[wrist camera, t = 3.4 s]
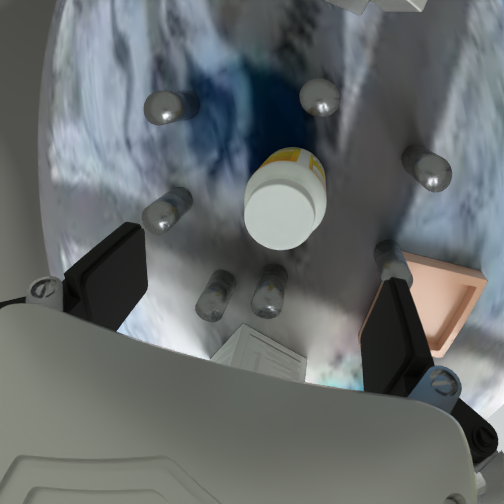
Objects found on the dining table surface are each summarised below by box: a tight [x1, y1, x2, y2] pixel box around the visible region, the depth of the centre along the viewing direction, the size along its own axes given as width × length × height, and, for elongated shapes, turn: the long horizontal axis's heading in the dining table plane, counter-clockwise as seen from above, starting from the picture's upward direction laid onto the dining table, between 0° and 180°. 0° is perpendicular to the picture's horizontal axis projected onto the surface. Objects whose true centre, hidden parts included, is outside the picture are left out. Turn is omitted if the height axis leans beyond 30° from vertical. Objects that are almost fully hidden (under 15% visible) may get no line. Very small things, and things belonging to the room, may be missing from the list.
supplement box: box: [209, 324, 307, 382], centre depth 29 cm, size 10×9×17 cm
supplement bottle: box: [244, 147, 326, 250], centre depth 21 cm, size 5×5×10 cm
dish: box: [358, 251, 488, 358], centre depth 28 cm, size 11×11×2 cm
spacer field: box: [142, 78, 452, 322], centre depth 24 cm, size 23×22×5 cm
